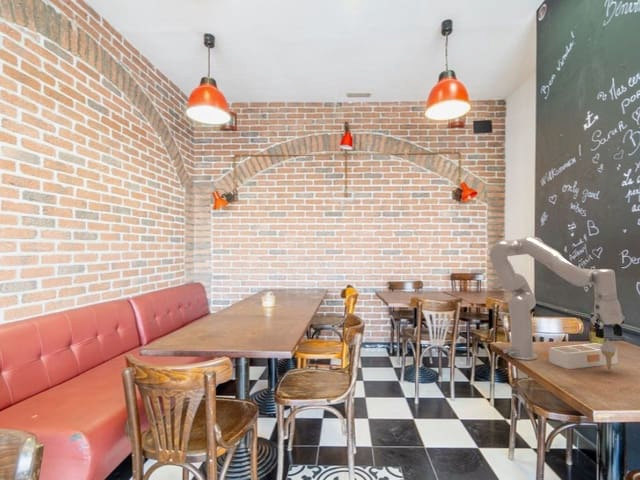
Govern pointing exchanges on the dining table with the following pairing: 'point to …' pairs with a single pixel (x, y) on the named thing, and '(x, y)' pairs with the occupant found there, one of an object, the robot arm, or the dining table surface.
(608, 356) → the ice cream cone
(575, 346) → the compartment tray
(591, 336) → the sauce bottle
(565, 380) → the dining table surface
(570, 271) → the robot arm
